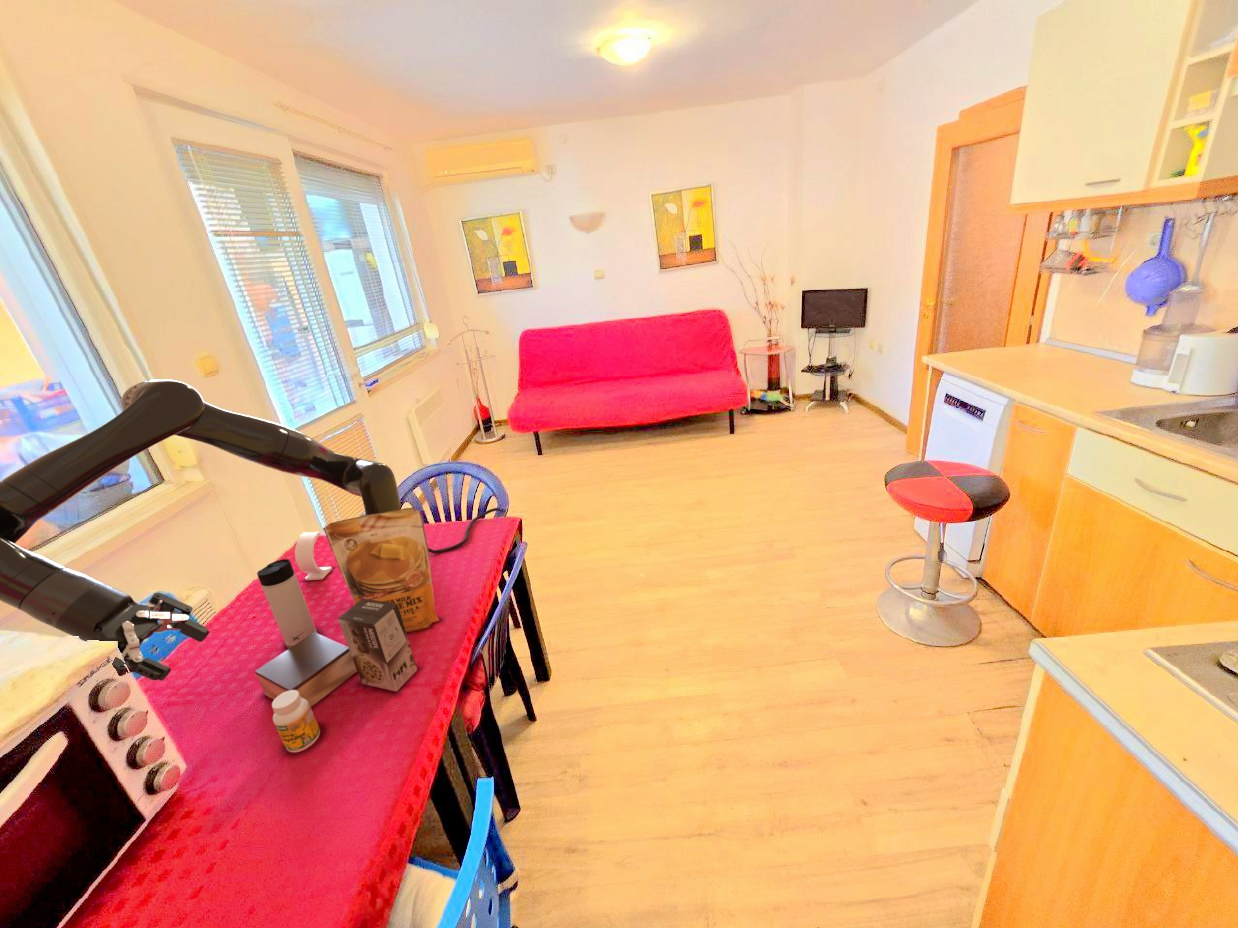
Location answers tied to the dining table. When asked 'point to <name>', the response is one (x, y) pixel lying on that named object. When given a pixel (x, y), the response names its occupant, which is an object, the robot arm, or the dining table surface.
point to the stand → (308, 669)
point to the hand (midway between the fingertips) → (187, 654)
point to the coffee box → (378, 644)
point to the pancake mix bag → (387, 562)
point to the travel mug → (286, 601)
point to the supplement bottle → (295, 721)
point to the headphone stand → (309, 557)
